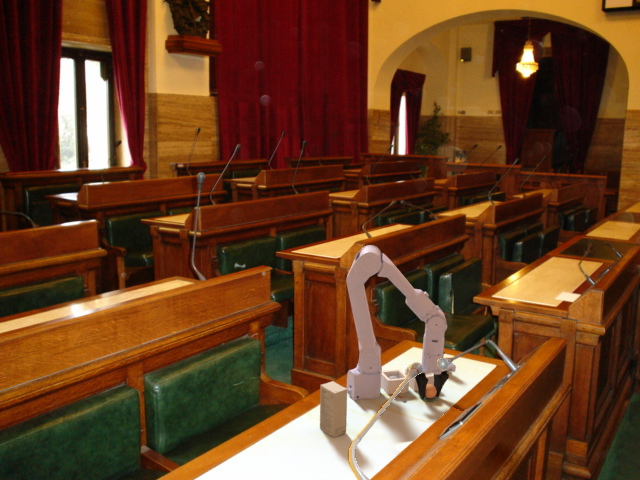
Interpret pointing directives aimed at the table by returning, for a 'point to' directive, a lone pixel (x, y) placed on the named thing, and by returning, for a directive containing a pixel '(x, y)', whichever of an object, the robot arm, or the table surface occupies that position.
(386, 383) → the open square box
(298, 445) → the table surface
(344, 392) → the skincare box
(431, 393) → the orange ball
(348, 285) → the robot arm
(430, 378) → the beige open box
